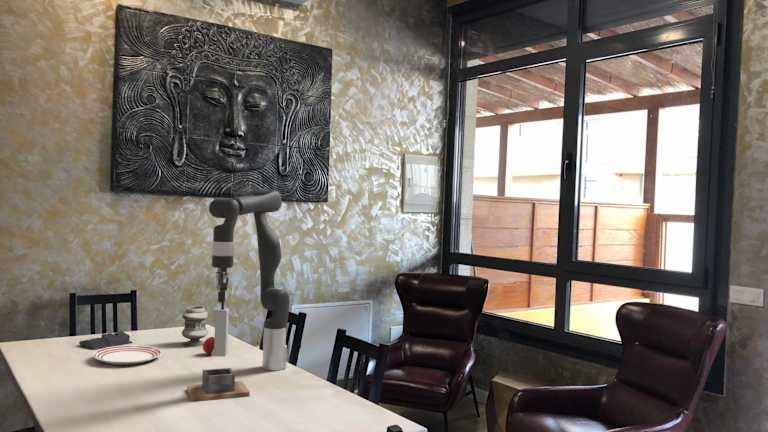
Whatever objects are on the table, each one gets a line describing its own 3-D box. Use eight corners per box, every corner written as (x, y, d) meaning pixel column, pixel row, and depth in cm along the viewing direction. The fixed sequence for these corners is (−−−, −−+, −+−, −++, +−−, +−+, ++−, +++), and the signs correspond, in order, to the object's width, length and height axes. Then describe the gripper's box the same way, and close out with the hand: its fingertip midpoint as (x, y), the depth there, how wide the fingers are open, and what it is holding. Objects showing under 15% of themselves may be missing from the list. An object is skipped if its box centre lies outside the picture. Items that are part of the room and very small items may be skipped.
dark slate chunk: (73, 346, 279) (74, 336, 279) (117, 338, 297) (117, 329, 297) (92, 351, 271) (93, 341, 271) (136, 343, 289) (136, 333, 289)
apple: (218, 357, 268) (219, 339, 268) (200, 356, 268) (201, 338, 268) (223, 352, 276) (223, 335, 276) (205, 352, 276) (206, 334, 276)
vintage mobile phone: (213, 353, 220) (215, 285, 220) (227, 354, 221) (229, 286, 220) (211, 356, 217) (213, 287, 216) (225, 356, 217) (227, 287, 216)
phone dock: (242, 384, 229) (242, 365, 229) (249, 396, 216) (250, 375, 216) (186, 389, 221) (187, 369, 221) (191, 401, 208) (192, 379, 208)
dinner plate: (172, 354, 271) (172, 346, 271) (142, 370, 244) (142, 362, 244) (114, 350, 274) (114, 343, 274) (78, 366, 246) (78, 357, 246)
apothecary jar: (176, 345, 286) (177, 307, 286) (191, 340, 298) (192, 304, 297) (198, 348, 283) (199, 309, 282) (212, 342, 294) (213, 306, 294)
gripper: (236, 255, 213) (235, 304, 214) (230, 252, 225) (228, 298, 226) (215, 255, 210) (213, 305, 210) (209, 252, 222) (207, 299, 223)
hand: (221, 301), depth 218 cm, fingers closed on vintage mobile phone, 1 cm apart
